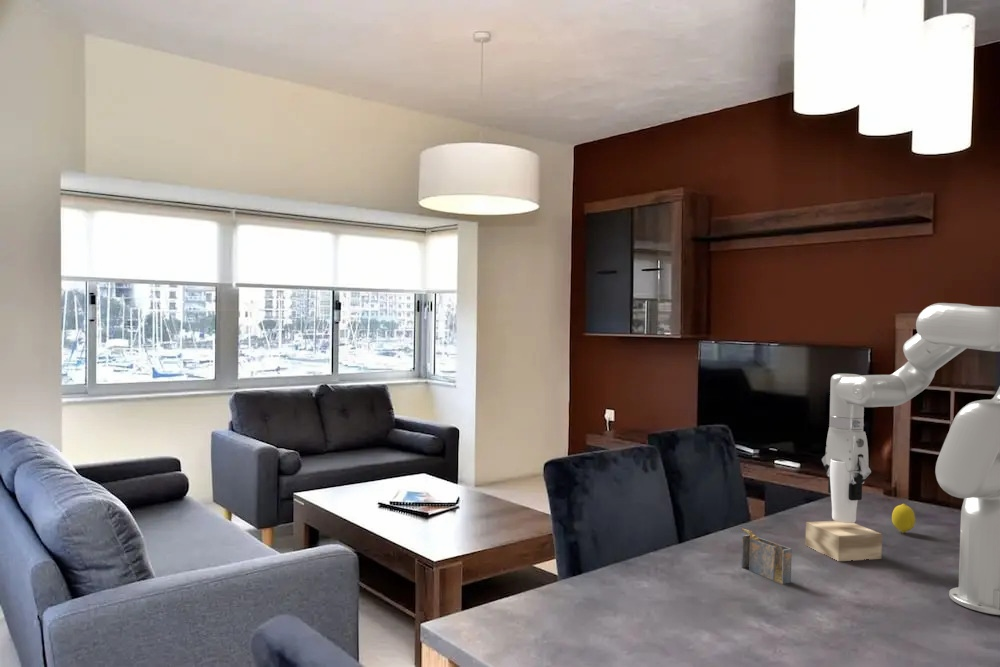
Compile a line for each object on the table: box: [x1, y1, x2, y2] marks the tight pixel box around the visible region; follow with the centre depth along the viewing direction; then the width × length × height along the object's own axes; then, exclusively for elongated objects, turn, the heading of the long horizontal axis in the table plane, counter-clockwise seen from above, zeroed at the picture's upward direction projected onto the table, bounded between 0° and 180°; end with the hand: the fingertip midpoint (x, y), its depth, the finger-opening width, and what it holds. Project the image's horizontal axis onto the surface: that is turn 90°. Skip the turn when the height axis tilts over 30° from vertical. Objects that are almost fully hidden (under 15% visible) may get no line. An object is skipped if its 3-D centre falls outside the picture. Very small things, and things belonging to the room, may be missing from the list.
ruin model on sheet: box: [740, 527, 793, 585], centre depth 156 cm, size 11×3×10 cm, turn 29°
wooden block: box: [804, 520, 883, 562], centre depth 173 cm, size 12×12×6 cm
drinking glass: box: [830, 459, 859, 523], centre depth 173 cm, size 7×7×15 cm
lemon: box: [891, 503, 916, 534], centre depth 191 cm, size 6×6×8 cm
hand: (844, 495), depth 173 cm, fingers closed on drinking glass, 6 cm apart
